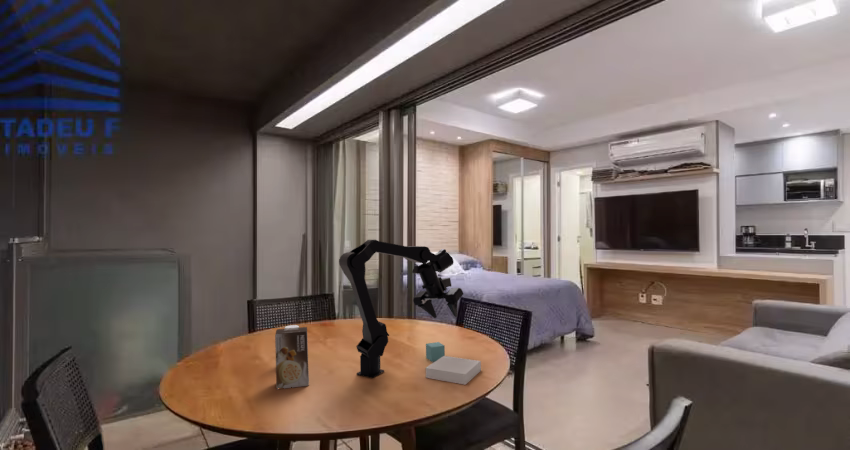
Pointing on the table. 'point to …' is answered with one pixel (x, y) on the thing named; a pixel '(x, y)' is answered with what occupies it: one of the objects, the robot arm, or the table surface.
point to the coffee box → (291, 357)
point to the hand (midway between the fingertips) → (445, 317)
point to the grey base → (453, 369)
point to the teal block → (435, 351)
